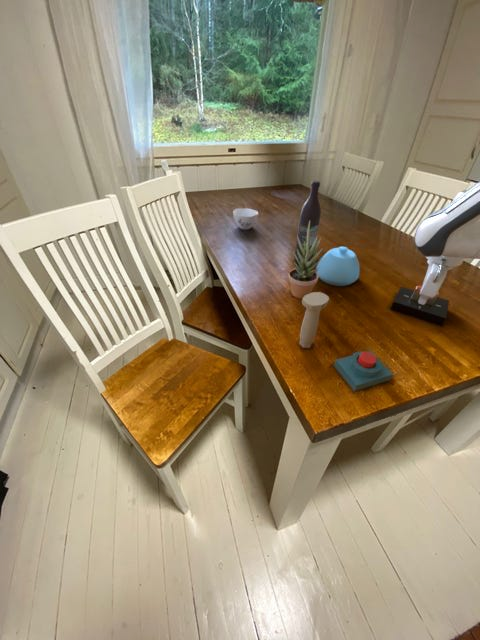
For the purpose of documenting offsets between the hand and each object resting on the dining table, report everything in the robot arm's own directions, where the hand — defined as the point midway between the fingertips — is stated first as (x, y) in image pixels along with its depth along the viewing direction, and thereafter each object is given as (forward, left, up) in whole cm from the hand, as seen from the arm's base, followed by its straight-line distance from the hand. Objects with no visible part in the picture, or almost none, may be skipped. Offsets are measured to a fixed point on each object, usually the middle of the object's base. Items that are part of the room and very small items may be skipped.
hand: (423, 295), depth 83 cm
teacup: (+84, -27, -5) cm, 88 cm away
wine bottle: (+43, -7, -5) cm, 44 cm away
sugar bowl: (+28, -4, -5) cm, 28 cm away
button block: (+7, +37, -5) cm, 38 cm away
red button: (+7, +37, -1) cm, 38 cm away
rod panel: (0, 0, -5) cm, 5 cm away
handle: (+22, +36, -5) cm, 42 cm away
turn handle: (0, 0, -2) cm, 2 cm away
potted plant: (+34, +14, -5) cm, 37 cm away
